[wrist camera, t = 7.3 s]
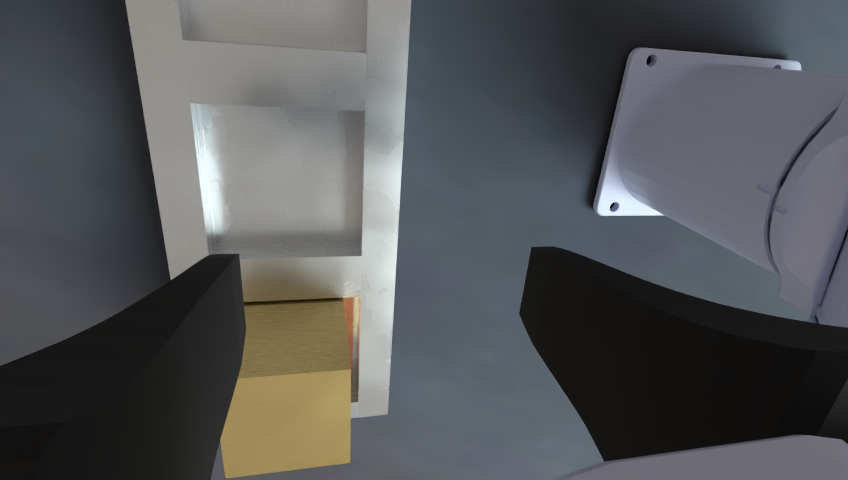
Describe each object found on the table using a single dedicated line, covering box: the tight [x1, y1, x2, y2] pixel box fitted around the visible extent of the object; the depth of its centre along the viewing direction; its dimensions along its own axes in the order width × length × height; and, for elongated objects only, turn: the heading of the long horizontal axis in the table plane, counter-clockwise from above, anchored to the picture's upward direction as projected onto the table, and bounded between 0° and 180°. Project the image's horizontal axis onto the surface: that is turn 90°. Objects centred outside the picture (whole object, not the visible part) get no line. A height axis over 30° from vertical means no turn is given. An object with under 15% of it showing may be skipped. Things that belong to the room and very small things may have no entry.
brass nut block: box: [220, 298, 351, 478], centre depth 19 cm, size 4×4×6 cm
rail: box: [125, 0, 411, 418], centre depth 19 cm, size 9×24×2 cm, turn 175°
